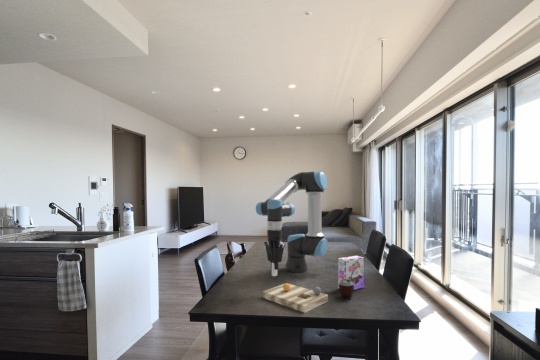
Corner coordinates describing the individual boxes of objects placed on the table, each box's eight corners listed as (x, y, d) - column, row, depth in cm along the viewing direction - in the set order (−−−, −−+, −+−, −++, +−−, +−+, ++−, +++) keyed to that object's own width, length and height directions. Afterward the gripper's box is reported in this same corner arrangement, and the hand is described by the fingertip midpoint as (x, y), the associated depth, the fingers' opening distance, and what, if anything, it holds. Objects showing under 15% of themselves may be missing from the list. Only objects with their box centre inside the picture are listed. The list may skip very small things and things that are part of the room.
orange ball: (281, 290, 142) (281, 283, 143) (286, 289, 145) (286, 281, 145) (287, 292, 140) (287, 285, 140) (291, 290, 143) (291, 283, 143)
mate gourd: (336, 296, 143) (335, 265, 144) (349, 293, 146) (348, 263, 147) (345, 301, 136) (345, 269, 137) (359, 298, 139) (358, 267, 140)
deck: (262, 297, 142) (262, 291, 142) (286, 288, 154) (286, 282, 155) (304, 313, 123) (304, 305, 124) (328, 301, 136) (328, 294, 136)
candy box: (345, 292, 148) (344, 260, 149) (337, 288, 154) (337, 257, 154) (365, 288, 155) (364, 257, 155) (357, 284, 160) (356, 255, 161)
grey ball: (312, 294, 137) (311, 286, 137) (316, 292, 140) (316, 285, 140) (318, 296, 134) (318, 288, 135) (322, 294, 137) (322, 286, 137)
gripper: (260, 228, 151) (260, 274, 150) (278, 231, 142) (278, 279, 141) (270, 227, 156) (270, 271, 155) (288, 229, 147) (288, 276, 146)
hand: (274, 275), depth 148 cm, fingers closed
